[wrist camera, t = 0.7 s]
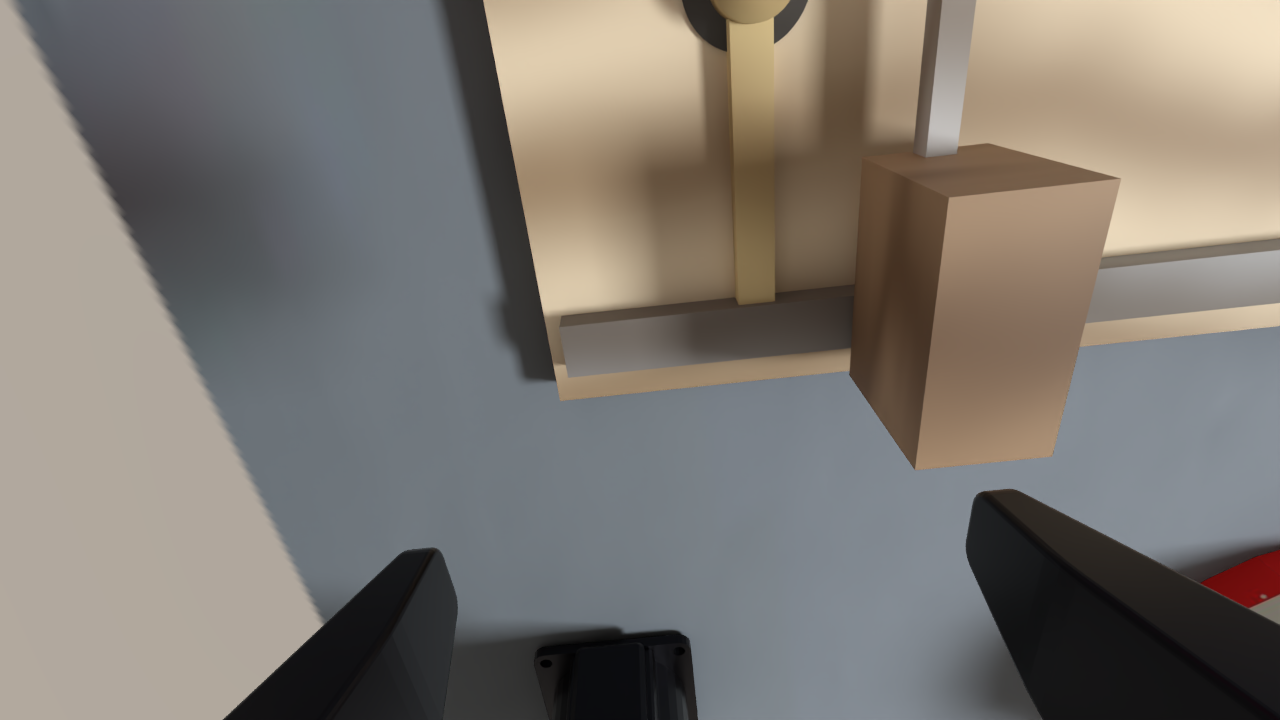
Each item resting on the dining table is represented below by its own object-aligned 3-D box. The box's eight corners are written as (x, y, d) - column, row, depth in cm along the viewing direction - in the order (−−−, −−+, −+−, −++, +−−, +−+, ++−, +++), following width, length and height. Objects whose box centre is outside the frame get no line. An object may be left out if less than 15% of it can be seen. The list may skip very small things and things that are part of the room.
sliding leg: (947, 356, 18) (1051, 456, 13) (843, 366, 18) (914, 470, 14) (1010, -99, 13) (1209, -172, 9) (867, -82, 13) (991, -145, 9)
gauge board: (1348, 299, 19) (1439, 331, 17) (563, 381, 20) (556, 422, 18) (1600, -253, 13) (1786, -310, 11) (471, -112, 14) (444, -139, 12)
